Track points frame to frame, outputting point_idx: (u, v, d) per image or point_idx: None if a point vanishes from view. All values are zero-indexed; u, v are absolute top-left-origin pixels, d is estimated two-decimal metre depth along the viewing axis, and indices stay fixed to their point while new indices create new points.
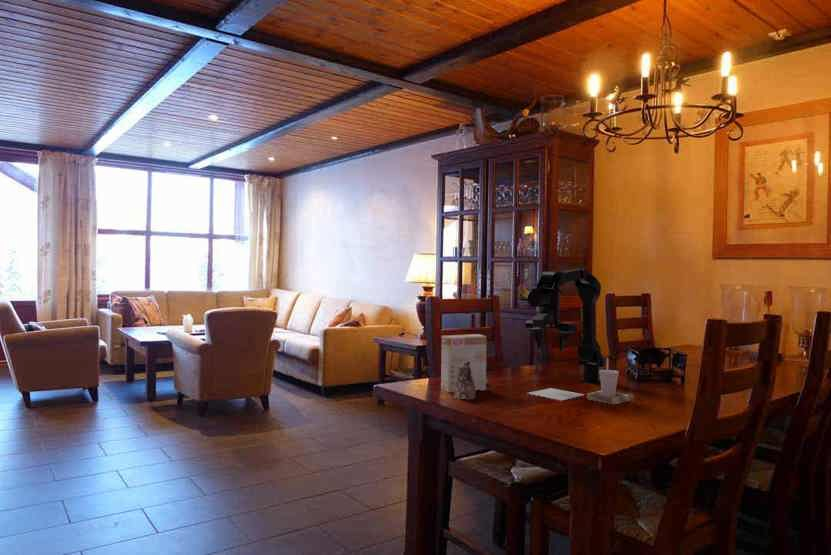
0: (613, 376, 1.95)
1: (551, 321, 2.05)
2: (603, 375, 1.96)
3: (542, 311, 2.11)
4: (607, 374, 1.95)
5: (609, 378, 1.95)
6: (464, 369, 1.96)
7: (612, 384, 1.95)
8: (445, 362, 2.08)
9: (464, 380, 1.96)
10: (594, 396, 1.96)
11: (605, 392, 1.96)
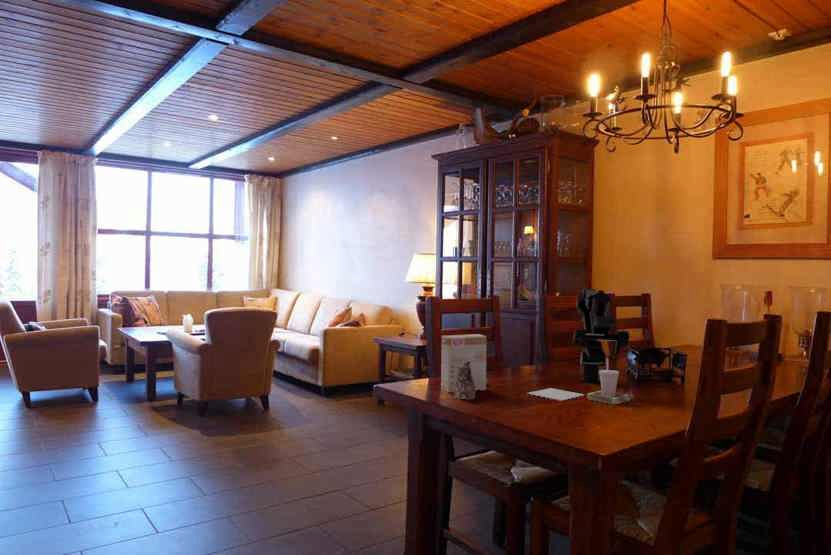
0: (613, 376, 1.95)
1: None
2: (603, 375, 1.96)
3: None
4: (607, 374, 1.95)
5: (609, 378, 1.95)
6: (465, 369, 1.96)
7: (612, 384, 1.95)
8: (445, 362, 2.08)
9: (464, 380, 1.96)
10: (594, 396, 1.96)
11: (605, 392, 1.96)
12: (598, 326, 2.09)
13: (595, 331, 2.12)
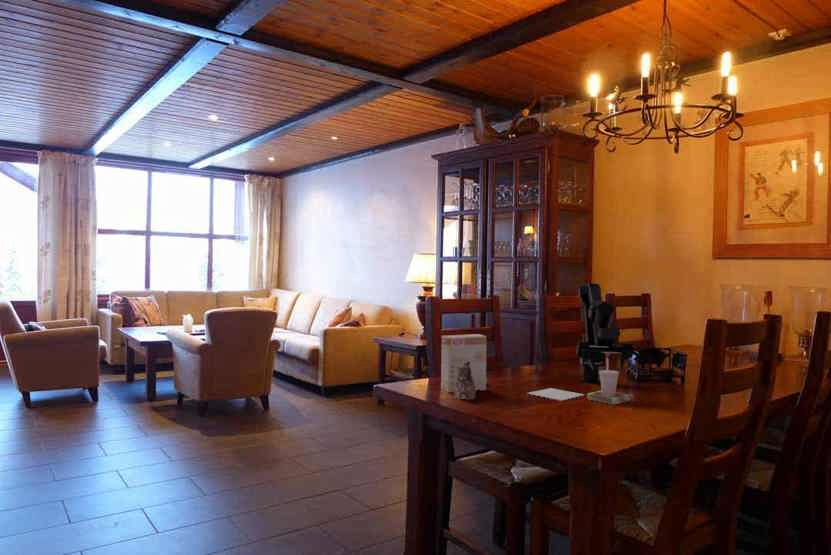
0: (613, 376, 1.95)
1: None
2: (603, 375, 1.96)
3: None
4: (607, 374, 1.95)
5: (609, 378, 1.95)
6: (464, 369, 1.96)
7: (612, 384, 1.95)
8: (445, 362, 2.08)
9: (464, 380, 1.96)
10: (594, 396, 1.96)
11: (605, 392, 1.96)
12: (602, 338, 2.03)
13: (599, 343, 2.05)
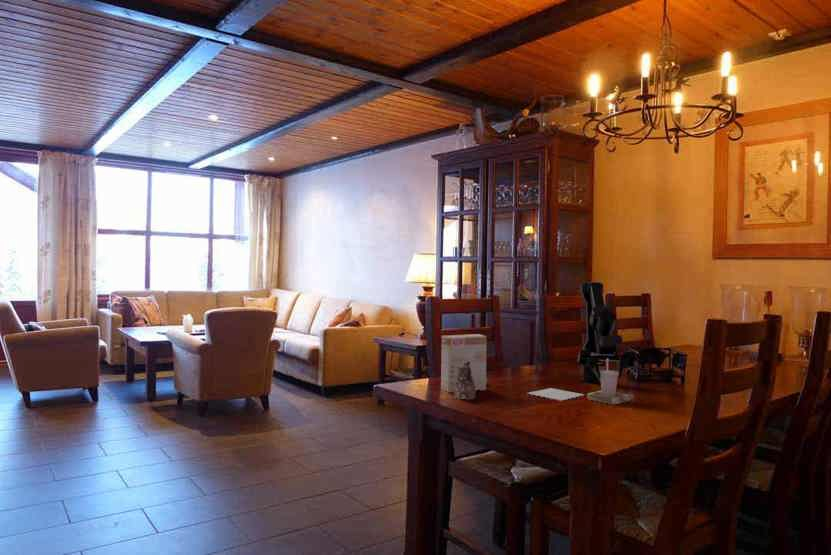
0: (613, 376, 1.95)
1: None
2: (603, 375, 1.96)
3: None
4: (607, 374, 1.95)
5: (609, 378, 1.95)
6: (464, 369, 1.96)
7: (612, 384, 1.95)
8: (445, 362, 2.08)
9: (464, 380, 1.96)
10: (594, 396, 1.96)
11: (605, 392, 1.96)
12: (604, 346, 2.00)
13: (601, 351, 2.02)
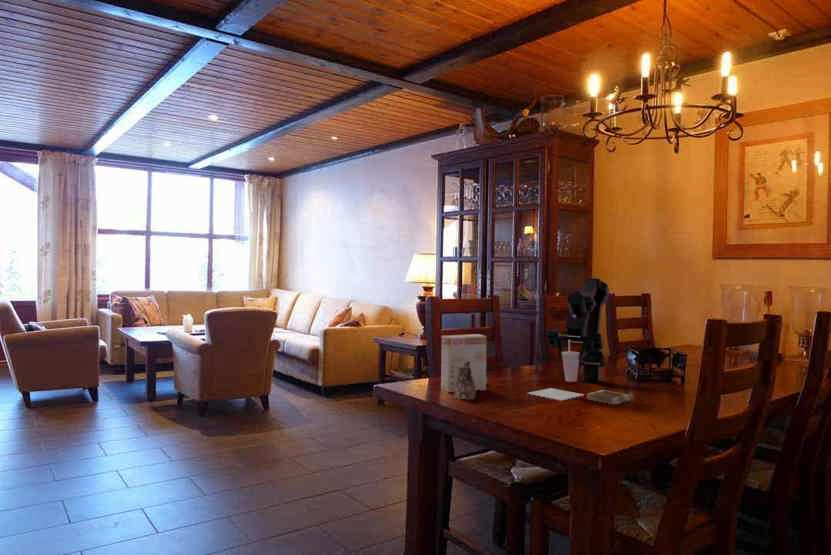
0: (571, 357, 1.99)
1: (585, 324, 2.02)
2: (563, 355, 2.01)
3: None
4: (565, 354, 2.00)
5: (568, 358, 2.00)
6: (465, 369, 1.96)
7: (571, 365, 2.00)
8: (445, 362, 2.08)
9: (464, 380, 1.96)
10: (594, 396, 1.96)
11: (565, 372, 2.01)
12: (568, 327, 2.04)
13: (568, 332, 2.06)
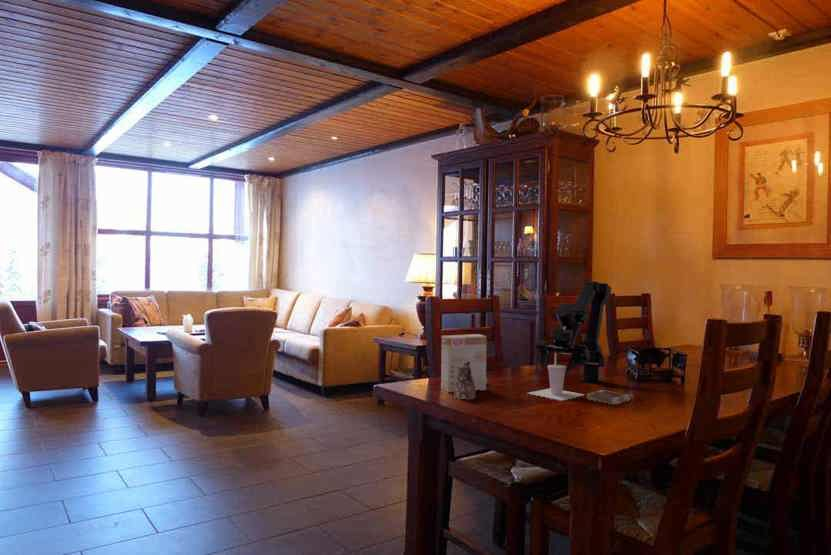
0: (556, 370, 2.02)
1: (571, 336, 2.04)
2: (548, 369, 2.05)
3: None
4: (550, 368, 2.03)
5: (552, 372, 2.03)
6: (464, 369, 1.96)
7: (555, 378, 2.03)
8: (445, 362, 2.08)
9: (464, 380, 1.96)
10: (594, 396, 1.96)
11: (550, 385, 2.04)
12: (555, 338, 2.07)
13: (555, 344, 2.09)
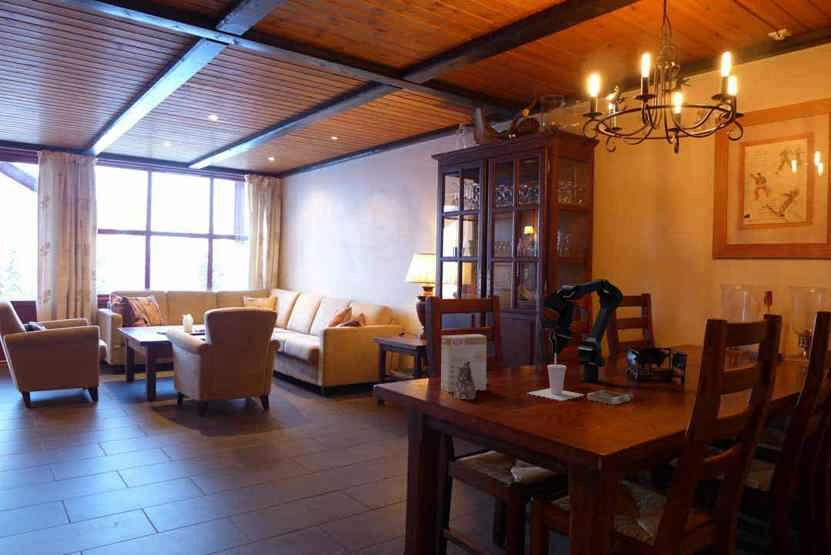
0: (556, 370, 2.02)
1: (548, 323, 2.17)
2: (548, 369, 2.05)
3: (555, 319, 2.23)
4: (550, 368, 2.03)
5: (552, 372, 2.03)
6: (464, 369, 1.96)
7: (555, 378, 2.03)
8: (445, 362, 2.08)
9: (464, 380, 1.96)
10: (594, 396, 1.96)
11: (550, 385, 2.04)
12: (547, 329, 2.23)
13: None
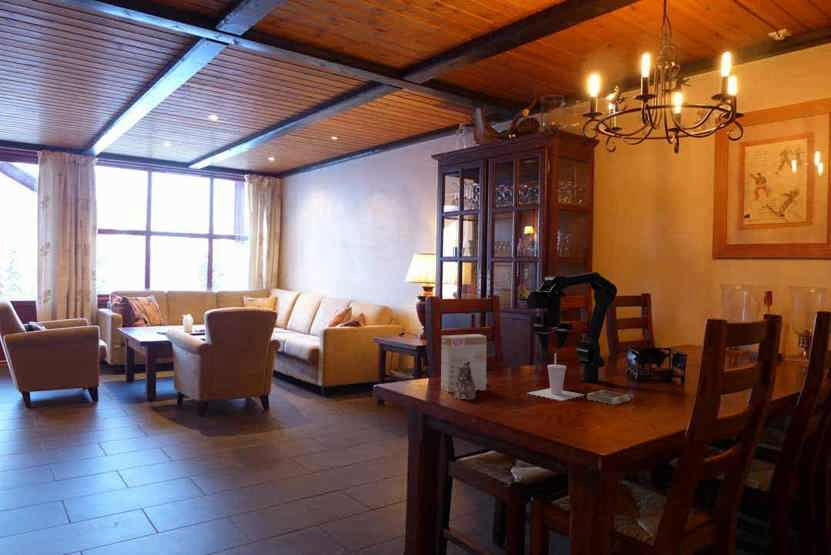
0: (556, 370, 2.02)
1: (534, 321, 2.25)
2: (548, 369, 2.05)
3: None
4: (550, 368, 2.03)
5: (552, 372, 2.03)
6: (464, 369, 1.96)
7: (555, 378, 2.03)
8: (445, 362, 2.08)
9: (464, 380, 1.96)
10: (594, 396, 1.96)
11: (550, 385, 2.04)
12: None
13: None
